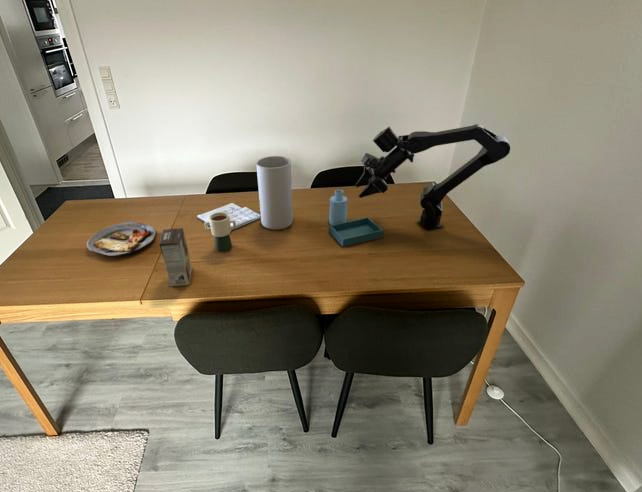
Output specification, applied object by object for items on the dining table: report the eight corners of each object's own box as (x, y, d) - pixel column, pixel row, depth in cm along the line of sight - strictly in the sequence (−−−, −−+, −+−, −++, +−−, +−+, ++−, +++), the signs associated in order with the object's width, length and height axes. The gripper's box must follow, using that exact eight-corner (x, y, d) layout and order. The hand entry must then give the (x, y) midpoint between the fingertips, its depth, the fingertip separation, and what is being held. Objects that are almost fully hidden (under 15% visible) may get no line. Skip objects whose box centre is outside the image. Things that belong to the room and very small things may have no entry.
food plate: (168, 233, 149) (166, 225, 146) (127, 265, 132) (124, 256, 130) (121, 223, 158) (118, 215, 156) (76, 251, 141) (73, 243, 139)
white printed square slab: (222, 235, 145) (222, 230, 143) (196, 217, 158) (195, 213, 157) (261, 218, 154) (261, 214, 153) (234, 203, 167) (233, 199, 166)
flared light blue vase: (341, 217, 151) (342, 186, 144) (348, 224, 146) (350, 193, 139) (326, 220, 150) (327, 189, 142) (333, 227, 145) (335, 196, 137)
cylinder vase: (256, 228, 148) (250, 166, 133) (268, 213, 157) (264, 155, 143) (286, 232, 144) (283, 169, 129) (296, 217, 153) (295, 157, 139)
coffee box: (173, 270, 127) (162, 228, 118) (192, 268, 127) (183, 227, 118) (169, 287, 120) (158, 244, 111) (190, 285, 120) (180, 242, 111)
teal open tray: (366, 223, 145) (367, 217, 144) (382, 237, 137) (383, 230, 135) (329, 232, 142) (329, 225, 140) (342, 246, 133) (343, 239, 131)
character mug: (239, 242, 140) (235, 210, 132) (238, 252, 134) (233, 220, 126) (210, 243, 140) (204, 212, 133) (207, 254, 134) (201, 222, 127)
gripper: (372, 138, 138) (340, 168, 145) (381, 155, 122) (345, 187, 130) (392, 158, 141) (359, 186, 149) (403, 177, 126) (366, 208, 133)
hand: (357, 191), depth 140 cm, fingers open, 9 cm apart
